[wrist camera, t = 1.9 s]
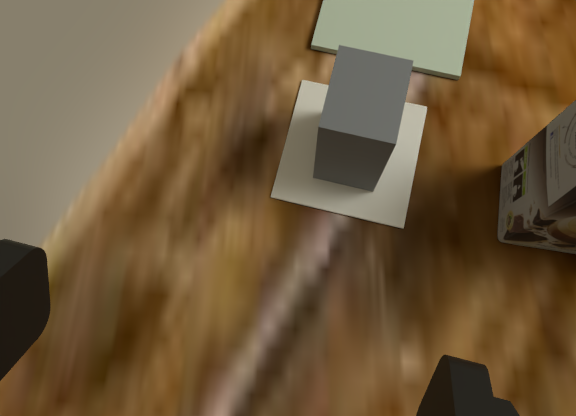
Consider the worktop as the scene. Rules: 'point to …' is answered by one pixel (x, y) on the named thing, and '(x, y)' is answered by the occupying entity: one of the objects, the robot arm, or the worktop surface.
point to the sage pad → (399, 31)
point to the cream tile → (336, 197)
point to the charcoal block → (361, 117)
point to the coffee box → (542, 189)
